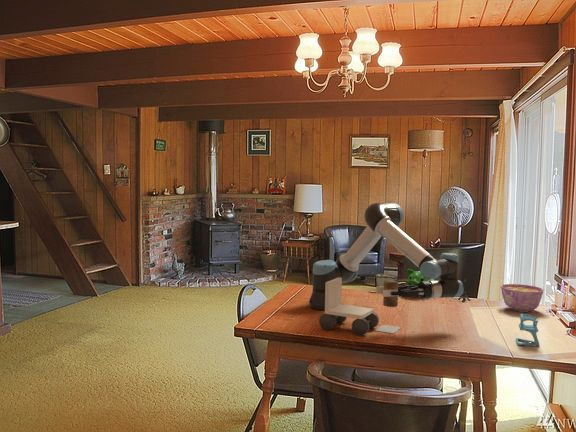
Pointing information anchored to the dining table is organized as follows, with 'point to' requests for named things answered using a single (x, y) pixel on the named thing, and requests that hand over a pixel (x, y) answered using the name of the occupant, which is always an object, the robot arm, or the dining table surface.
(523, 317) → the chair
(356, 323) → the trolley
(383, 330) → the pad
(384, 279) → the food container
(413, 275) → the piggy bank
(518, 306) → the bowl of food
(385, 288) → the cylindrical block
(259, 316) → the dining table surface
